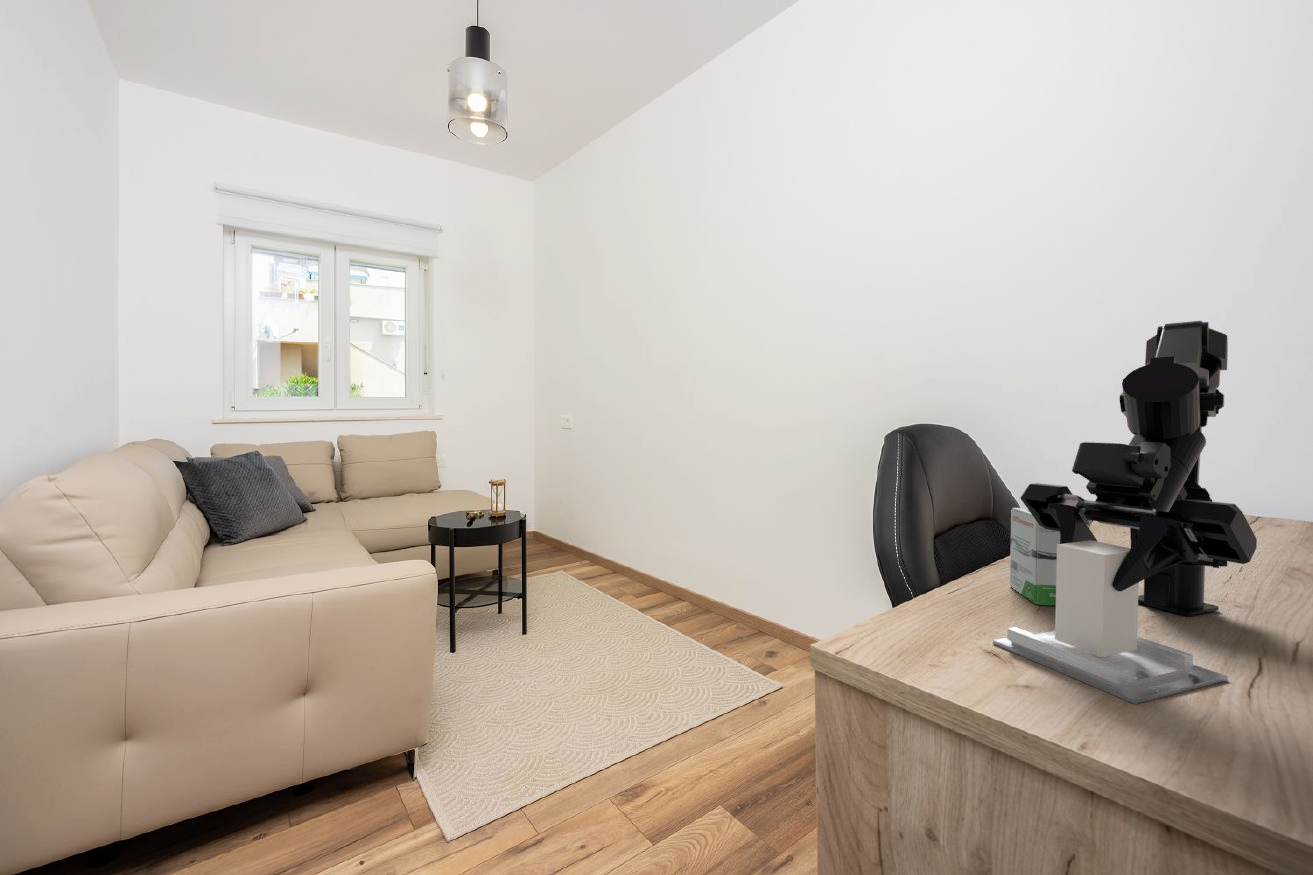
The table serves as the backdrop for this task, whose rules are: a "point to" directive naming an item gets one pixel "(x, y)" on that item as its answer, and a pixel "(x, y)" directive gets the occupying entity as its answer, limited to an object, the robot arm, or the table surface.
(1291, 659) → the table surface
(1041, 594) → the ink box
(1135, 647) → the block
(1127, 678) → the rail panel
